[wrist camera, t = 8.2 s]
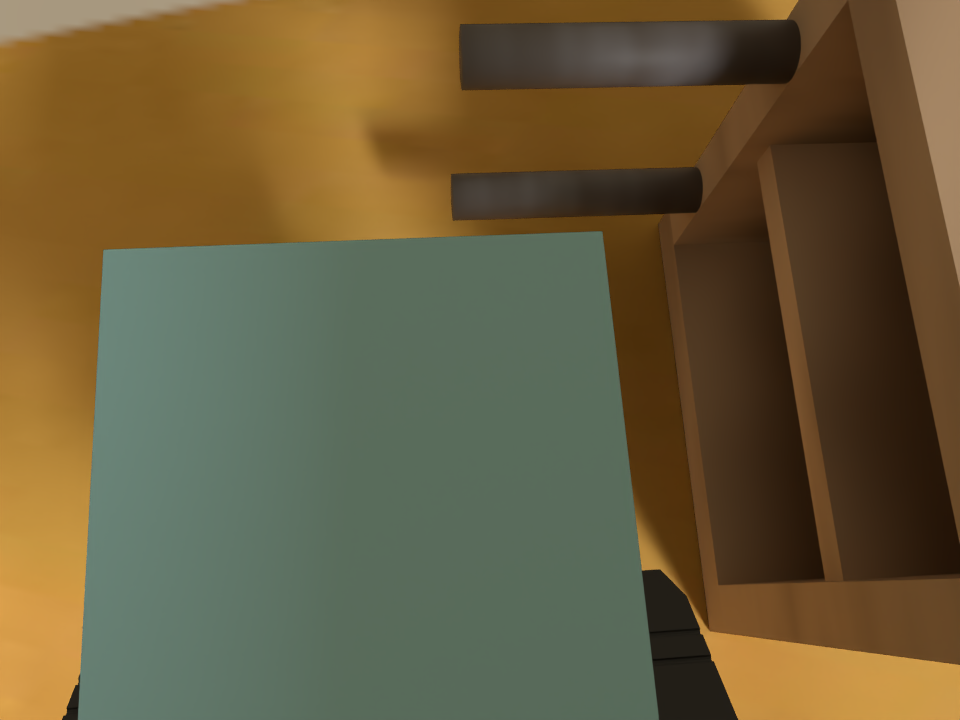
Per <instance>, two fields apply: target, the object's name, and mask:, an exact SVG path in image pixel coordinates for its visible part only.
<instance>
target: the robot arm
mask: <svg viewBox="0 0 960 720" xmlns="http://www.w3.org/2000/svg"><path fill="white" fill-rule="evenodd" d="M642 577H643V586H644V595H645V603H646V612H647V620H648V629H649V638H650V646H651V655H652V664H653V672H654V681H655V689H656V698H657V707H658V715H659V720H738V718H737V716H736V714H735V711H734V709H733V707H732V704H731V702H730V699H729V697H728V695H727V692H726V690H725V687H724V685H723V683H722V680H721V678H720V675H719V673H718V671H717V668H716V666H715V663H714V661H712V660H711V654H710V651H709V649H708V647H707V644H706V642H705V639H704V637H703V635H701V634H700V627H699V625H698V623H697V620H696V618H695V615H694V613H693V611H692V608H691V606H690V603H689V601H688V599H687V596H686V595H685V594H684V593H683V592H682V591H681V590H680V589H679V588H678V587H677V586H676V585H675V584H674V583H673V582H672V581H671V580H670V579H669V578H668V577H667V576H666V575H665V574H664V573H663V572H662V571H661V570H660V569H659V570H645V571H642ZM78 679H79V683H78V685H75V688H74V691H73V693H72V696H71V698H70V701H69V703H68V706H67V714H66V716H63V719H62V720H78V708H79V690H80V675H79V678H78Z"/></svg>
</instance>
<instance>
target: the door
mask: <svg viewBox="0 0 960 720" xmlns="http://www.w3.org/2000/svg"><path fill="white" fill-rule="evenodd" d="M78 720H659V715H658V707H657V698H656V689H655V681H654V672H653V664H652V655H651V646H650V638H649V629H648V620H647V612H646V603H645V595H644V586H643V577H642V569H641V560H640V552H639V543H638V534H637V526H636V517H635V508H634V500H633V491H632V483H631V474H630V465H629V457H628V448H627V440H626V431H625V422H624V414H623V405H622V397H621V388H620V379H619V371H618V362H617V353H616V345H615V336H614V328H613V319H612V310H611V302H610V293H609V285H608V276H607V267H606V259H605V250H604V241H603V233H602V231H595V232H568V233H541V234H514V235H487V236H460V237H433V238H406V239H379V240H352V241H325V242H298V243H271V244H244V245H217V246H190V247H163V248H136V249H109V250H103V268H102V286H101V305H100V323H99V341H98V360H97V378H96V396H95V415H94V433H93V451H92V470H91V488H90V506H89V525H88V543H87V561H86V580H85V598H84V617H83V635H82V653H81V672H80V690H79V708H78Z"/></svg>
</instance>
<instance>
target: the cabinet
mask: <svg viewBox="0 0 960 720" xmlns="http://www.w3.org/2000/svg"><path fill="white" fill-rule="evenodd" d="M459 62H460V81H461V89H462V90H500V89H550V88H600V87H650V86H700V85H745V87H744V88H743V90H742V92H741V93H740V95H739V96H738V98H737V100H736V101H735V103H734V104H733V106H732V108H731V109H730V111H729V112H728V114H727V115H726V117H725V119H724V120H723V122H722V123H721V125H720V127H719V128H718V130H717V131H716V133H715V135H714V136H713V138H712V139H711V141H710V143H709V144H708V146H707V147H706V149H705V151H704V152H703V154H702V155H701V157H700V158H699V160H698V162H697V163H696V165H695V166H694V167H683V168H647V169H610V170H574V171H537V172H501V173H464V174H451V206H452V218H453V221H455V220H486V219H518V218H550V217H582V216H613V215H645V214H664V216H663V217H662V219H661V221H660V222H659V224H658V227H659V235H660V243H661V251H662V259H663V267H664V274H665V282H666V290H667V298H668V306H669V314H670V322H671V330H672V338H673V345H674V353H675V361H676V369H677V377H678V385H679V393H680V401H681V408H682V416H683V424H684V432H685V440H686V448H687V456H688V464H689V471H690V479H691V487H692V495H693V503H694V511H695V519H696V527H697V535H698V542H699V550H700V558H701V566H702V574H703V582H704V590H705V598H706V605H707V613H708V621H709V629H710V631H712V632H719V633H727V634H734V635H742V636H749V637H757V638H764V639H771V640H779V641H786V642H794V643H801V644H809V645H816V646H824V647H831V648H838V649H846V650H853V651H861V652H868V653H876V654H883V655H891V656H898V657H906V658H913V659H920V660H928V661H935V662H943V663H950V664H958V665H960V0H799V1H798V2H797V4H796V6H795V7H794V9H793V10H792V12H791V14H790V15H789V17H788V18H787V20H732V21H662V22H591V23H520V24H461V25H460V33H459Z"/></svg>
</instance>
